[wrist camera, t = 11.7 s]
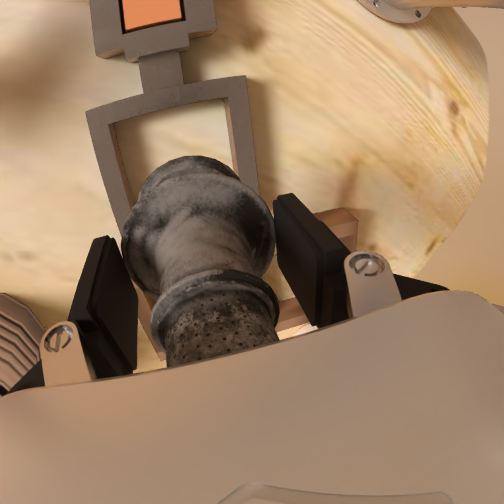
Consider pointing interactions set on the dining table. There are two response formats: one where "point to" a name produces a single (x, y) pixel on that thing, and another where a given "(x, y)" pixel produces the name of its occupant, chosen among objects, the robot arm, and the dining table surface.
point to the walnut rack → (289, 309)
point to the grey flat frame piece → (162, 91)
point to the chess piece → (202, 260)
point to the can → (17, 341)
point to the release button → (150, 13)
